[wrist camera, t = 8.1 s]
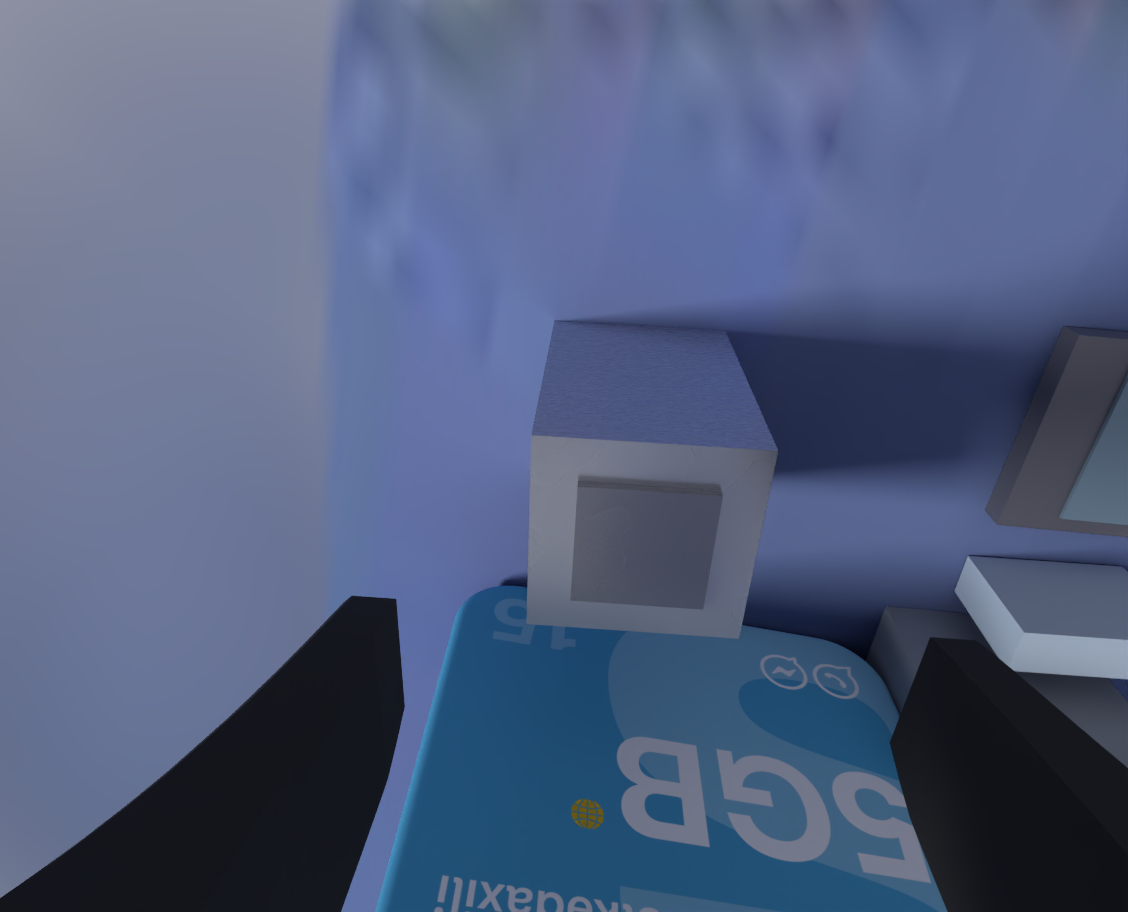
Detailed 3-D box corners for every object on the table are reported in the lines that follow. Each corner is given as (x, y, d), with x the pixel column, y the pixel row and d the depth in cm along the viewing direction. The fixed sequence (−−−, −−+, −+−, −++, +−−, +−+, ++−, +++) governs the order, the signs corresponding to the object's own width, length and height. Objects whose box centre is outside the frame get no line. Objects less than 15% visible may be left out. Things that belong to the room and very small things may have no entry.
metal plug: (702, 478, 19) (741, 646, 13) (548, 468, 19) (525, 631, 14) (725, 330, 17) (781, 456, 12) (554, 320, 17) (530, 441, 12)
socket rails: (1003, 795, 24) (1052, 886, 21) (878, 786, 24) (912, 875, 21) (1122, 566, 19) (1203, 645, 17) (967, 555, 20) (1024, 632, 17)
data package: (872, 643, 21) (1132, 1213, 11) (818, 746, 23) (992, 1307, 13) (466, 572, 21) (323, 1096, 10) (450, 685, 23) (318, 1214, 12)
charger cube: (997, 741, 23) (1092, 905, 19) (839, 726, 23) (895, 887, 19) (1061, 620, 21) (1187, 775, 16) (884, 604, 21) (961, 754, 16)
